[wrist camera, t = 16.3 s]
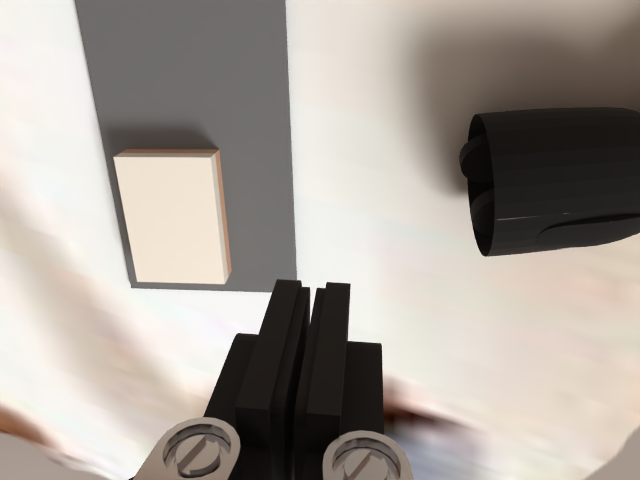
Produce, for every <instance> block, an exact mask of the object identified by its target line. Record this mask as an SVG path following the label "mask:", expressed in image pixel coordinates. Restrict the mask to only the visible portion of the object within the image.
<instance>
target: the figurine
mask: <svg viewBox="0 0 640 480" xmlns="http://www.w3.org/2000/svg"><path fill="white" fill-rule="evenodd" d="M459 161H460V166H461V170H462V173H463V174H464V176H465V177H466V178H468V195H469V205H470V214H471V220H472V225H473V230H474V235H475V239H476V242H477V245H478V248H479V250H480V252H481V254H482V255H483V256H500V255H511V254H522V253H531V252H540V251H549V250H557V249H559V250H560V249H566V248H573V247H588V246H596V245H602V244H607V243H611V242H615V241H619V240H622V239H624V238H627V237H630V236H632V235H635V234H638V233H640V113H638V112H636V111H633V110H629V109H623V108H608V107H593V108H553V109H534V110H518V111H505V112H493V113H483V114H475V115H474V116H473V118H472V121H471V124H470V129H469V136H468V142H467V143H466V144H465V145H464V147H463V148H462V149H461V152H460V155H459Z"/></svg>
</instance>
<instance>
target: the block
mask: <svg viewBox="0 0 640 480" xmlns="http://www.w3.org/2000/svg"><path fill="white" fill-rule="evenodd" d="M114 163H115V168H116V173H117V178H118V184H119V189H120V194H121V199H122V205H123V210H124V215H125V220H126V226H127V231H128V236H129V241H130V247H131V252H132V257H133V262H134V268H135V273H136V278H137V282H163V283H199V284H225V283H226V281H227V279H228V277H229V275H230V273H231V271H232V269H231V259H230V250H229V240H228V230H227V220H226V210H225V201H224V191H223V181H222V171H221V162H220V152H219V149H126V150H125V151H123V152H121V153H120V154H118V155H116V156H114Z"/></svg>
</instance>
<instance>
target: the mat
mask: <svg viewBox="0 0 640 480" xmlns="http://www.w3.org/2000/svg"><path fill="white" fill-rule="evenodd" d="M75 2H76V7H77V13H78V18H79V23H80V28H81V33H82V38H83V43H84V48H85V53H86V59H87V64H88V69H89V74H90V79H91V84H92V89H93V94H94V100H95V105H96V110H97V115H98V120H99V125H100V130H101V135H102V140H103V146H104V151H105V156H106V161H107V166H108V171H109V176H110V181H111V186H112V192H113V197H114V202H115V207H116V212H117V217H118V222H119V227H120V233H121V238H122V243H123V248H124V253H125V258H126V263H127V268H128V273H129V279H130V284H131V288H144V289H177V290H211V291H244V292H273V289H274V286H275V283H276V280H277V279H284V280H297V271H296V247H295V223H294V199H293V175H292V151H291V127H290V103H289V79H288V55H287V31H286V7H285V0H75ZM126 149H219V152H220V162H221V171H222V181H223V191H224V201H225V210H226V220H227V230H228V240H229V250H230V259H231V269H232V271H231V273H230V275H229V277H228V279H227V281H226V283H225V284H199V283H163V282H137V278H136V273H135V268H134V262H133V257H132V252H131V247H130V241H129V236H128V231H127V226H126V220H125V215H124V210H123V205H122V199H121V194H120V189H119V184H118V178H117V173H116V168H115V163H114V156H116V155H118V154H120V153H121V152H123V151H125V150H126Z"/></svg>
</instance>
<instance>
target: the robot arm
mask: <svg viewBox="0 0 640 480" xmlns="http://www.w3.org/2000/svg"><path fill="white" fill-rule="evenodd" d="M349 303H350V284H348V283H332V282H327V283H326V288H317V290H316V295H315V301H314V306H313V311H312V317H311V322H310V287H302V283H301V281H300V280H284V279H277V280H276V283H275V286H274V289H273V292H272V295H271V298H270V301H269V304H268V307H267V310H266V313H265V316H264V319H263V322H262V325H261V328H260V332H259V335H256V334H242V333H238V334H237V335H236V336H235V338H234V340H233V343H232V345H231V348H230V350H229V353H228V355H227V358H226V360H225V363H224V366H223V368H222V371H221V373H220V376H219V378H218V381H217V383H216V386H215V388H214V391H213V393H212V396H211V399H210V401H209V404H208V406H207V409H206V411H205V414H204V416H203V417H200V418H194V419H189V420H187V421H184V422H181V423H179V424H177V425H176V426H174V427H173V428H171V429H170V430H168V431H167V432H166V433H165V434H164V435H163V436H162V437H161V439H160V440H159V441H158V442H157V444H156V445H155V447H154V448H153V450H152V451H151V453H150V454H149V456H148V457H147V459H146V460H145V462H144V463H143V465H142V466H141V468H140V469H139V471H138V472H137V474H136V475H135V476H134V477H132V478H131V479H129V480H414V478H413V474H412V470H411V466H410V463H409V460H408V458H407V456H406V454H405V452H404V451H403V449H402V448H401V447H400V446H399V445H398V444H397V443H396V442H395V441H393V440H392V439H390V438H388V437H387V436H385V435H384V417H383V376H382V345H381V343H367V342H353V341H348V323H349Z"/></svg>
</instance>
